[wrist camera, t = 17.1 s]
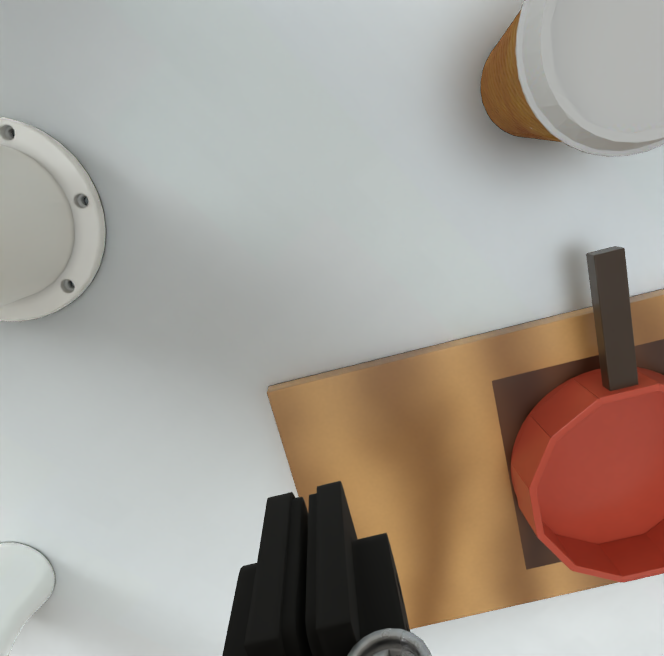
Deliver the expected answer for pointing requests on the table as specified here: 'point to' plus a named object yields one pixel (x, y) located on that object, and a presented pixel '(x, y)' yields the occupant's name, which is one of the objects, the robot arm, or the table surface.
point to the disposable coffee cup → (581, 75)
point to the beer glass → (21, 589)
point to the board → (449, 455)
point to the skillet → (599, 449)
